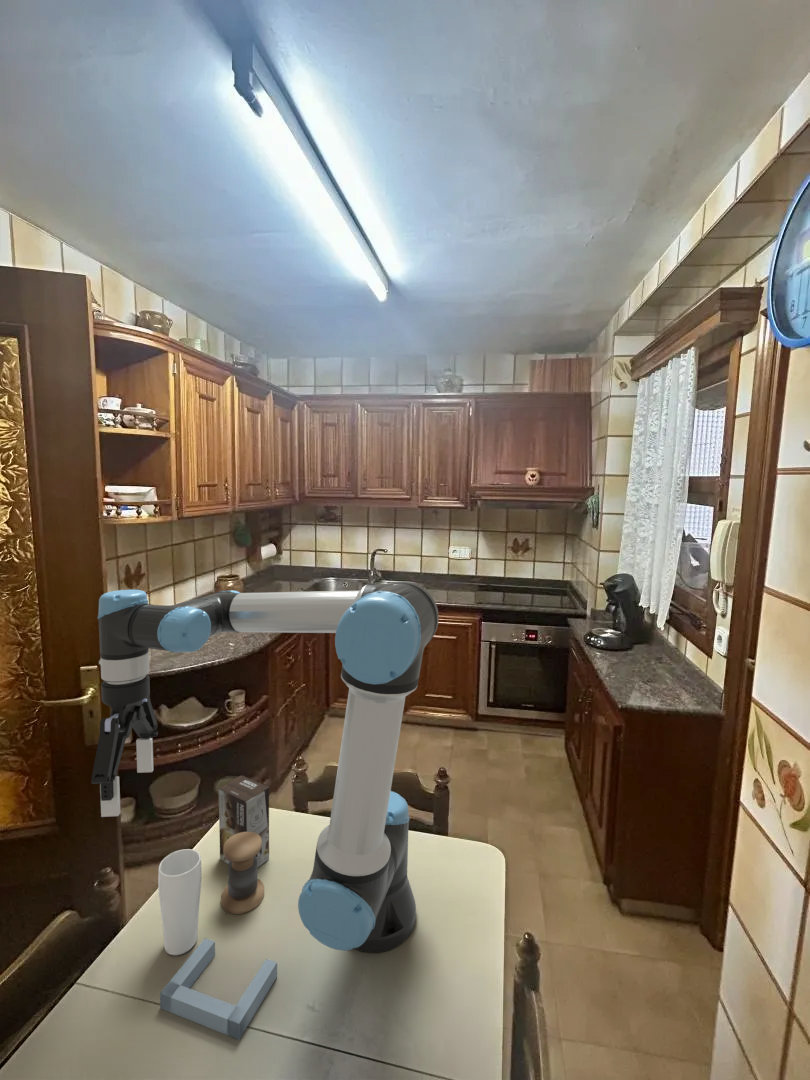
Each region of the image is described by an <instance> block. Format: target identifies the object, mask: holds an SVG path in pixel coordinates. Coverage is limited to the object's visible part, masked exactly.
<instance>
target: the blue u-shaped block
mask: <svg viewBox="0 0 810 1080" xmlns="http://www.w3.org/2000/svg"><path fill="white" fill-rule="evenodd" d="M215 956H216V941H215V940H212V939H209V938H206V937H205V938H204V939H203V940H202V941H201V942H200V944H198V946H197V947H196V948H195V950H194V951H192V953H191V955H190V956H189V957H188V959H186V961H185V962H184V963H183V965H182V966H181V967H180V968H179V970H177V971H176V973H175V974H174V975H173V977H172V978H171V979H170V981H168V983H167V984H166V985H165V987H163V989H162V990H161V991H160V993H159V997H160V998H159V1005H160V1006H159V1009H160V1010H163V1011H166V1012H168V1013H171V1014H173V1015H176V1016H179V1017H180V1018H183V1019H186V1020H188V1021H190V1022H194V1023H195V1024H197V1025H198V1024H199V1025H201V1026H204V1027H206V1028H208V1029H210V1030H213V1031H216V1032H218V1033H221V1034H223V1035H226V1036H228V1037H231V1038H233V1039H236V1040H239V1041H240V1039H241V1038H242V1036H243V1034H244V1032H245V1031H246V1029H247V1028H248V1026H249V1024H250V1023H251V1022H252V1020H253V1018H254V1016H255V1015H256V1013H257V1012H258V1010H259V1008H260V1006H261V1004H262V1003H263V1001H264V1000H265V998H266V997H267V994H268V993H269V991H270V989H271V987H272V986H273V984H274V982H275V981H276V979H277V977H278V962H277V961H274V960H271V959H268V958H266V959H265V960H264V962H263V963H262V965H261V967H260V968H259V970H258V971H257V973H256V974H255V975H254V977H253V978H252V980H251V981H250V983H249V985H248V986H247V988H246V989H245V991H244V992H243V994H242V996H241V998H240V999H239V1000H238V1002H237V1003H236V1005H235V1004H233V1003H229V1002H227V1001H224V1000H221V999H219V998H216V997H213V996H211V995H208V994H205V993H202V992H200V991H197V990H194V989H192V988H191V987H192V986H193V985H194V983H195V982H196V981H197V980H198V979H199V977H200V975H201V974H202V973H203V972H204V970H205V969H206V967H207V966H208V965H209V964H210V962H211V961H212V960H213V958H215Z"/></svg>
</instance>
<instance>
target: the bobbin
mask: <svg viewBox="0 0 810 1080" xmlns="http://www.w3.org/2000/svg"><path fill="white" fill-rule="evenodd" d="M261 847H262V840H261V837H260V836H259V835H258V834H257V833H254V832H241V833H237V834H235V835H233V836H231V837H230V838H229V839H228V840H227V841H226V842H225V844H224V847H223V853H224V856H225V858H226V859H228V860H230V862H229V864H227V885H226V886H225V887H224V888H223V891H222V892H221V895H220V906H221V907H222V909H223V910H224V912H226V913H227V914H232V915H242V914H246V913H249V912H252V911H253V910H254V909H256V908H257V907H258V906H259V905H260V904H261V903H262V902H263V900H264V898H265V884H264V883H263V881H262V880H261V879H259V878H258V868H257V858H256V856H255V855H257V854H258V853H259V851H260V850H261Z"/></svg>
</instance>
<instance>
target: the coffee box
mask: <svg viewBox="0 0 810 1080" xmlns="http://www.w3.org/2000/svg"><path fill="white" fill-rule="evenodd" d="M218 810H219V811H218V817H219V818H218V823H219V826H218V827H219V831H218V832H219V859H220V861H222V862H223V863H225V864H227V865H228V864H229V862H230V860H228V859H226V858H225V856H224V853H223V847H224V844H225V842H226V841H227V840H228V839H229V838H230V837H231V836H233V835H235V834H237V833H241V832H254V833H257V834H258V835H259V836H260V837H261V840H262V847H261V850H260V851H259V853H258V854H257V855H255V856H256V858H257V869H258V868H260V867H261V865H264V864H265V863H266V862H267V861H269V860H270V787H269V786H267V785H266V784H263V783H260V782H258V781H256V780H254V779H251V778H249V777H246V776H244V775H242V774H241V775H239V776H237V777H236V778H234V779H233V780H231V781H229V782H227V783H226V784H224V785H223V786H221V787H219V788H218Z"/></svg>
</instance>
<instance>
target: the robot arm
mask: <svg viewBox="0 0 810 1080" xmlns="http://www.w3.org/2000/svg"><path fill="white" fill-rule="evenodd" d="M438 609H439V608H438V606H437V602H436V601H435V599H434V597H433V596H432V594H431V593H430V592H429V591H428V590H427V589H426V588H424V587H422V586H421V585H419V584H417V583H414V582H410V581H395V582H389V583H376V584H375V583H374V584H365V585H364V586H363V587H362V588H361V589H360V590H328V591H327V590H326V591H325V590H324V591H323V590H322V591H321V590H320V591H319V590H318V591H277V592H275V591H274V592H273V591H272V592H271V591H269V592H240V591H238V590H232V589H231V590H223V591H218V592H216V593H213V594H209V595H206V596H203V597H198V598H194V599H191V600H186V601H183V602H179V603H175V604H170V605H165V604H163V605H162V604H161V605H160V604H151V603H149V600H148V594H147V593H146V591H144V590H141V589H120V590H119V589H118V590H113V591H107V592H105V593H103V594H101V596H100V597H99V599H98V614H97V620H98V632H99V633H98V634H99V635H98V636H99V655H100V656H99V657H100V659H99V660H98V665H100V677H101V680H103V681H102V682H101V685H100V689H101V690H100V692H101V695H100V696H101V702H102V703H103V704H104V705H107V706H108V707H110V714H109V715H110V716H109V717H107V718H106V717H105V718H101V719H100V722H99V736H98V743H97V747H96V752H95V758H94V762H93V763H94V764H93V768H92V774H91V778H90V779H91V780H90V783H91V784H94V785H95V784H96V785H97V784H99V793H100V814H101V815H100V817H101V818H104V817H105V818H107V817H108V818H109V817H119V816H120V815H121V793H120V788H121V787H120V776H119V775H118V776H117V774H118V769H119V766H120V764H121V758H122V754H123V753H124V752H123V751H124V749H125V748H124V747H125V743H126V740H127V739H128V738H129V737H130V736H131V731H132V729H133V731H134V732H135V733H136V735H137V736H138V738H137V739H136V740H135V744H136V746H135V747H136V772H137V774H138V773H139V774H140V773H141V774H142V773H153V771H154V751H153V750H154V744H153V743H154V742H153V738H155V737H158V735H159V730H157V729H158V722H157V717H156V715H155V714H156V713H155V712H154V708H153V705H152V702H151V697H150V695H151V689H150V688H151V687H150V686H151V685H150V675H148V674H149V673H150V669H151V668H150V651H149V649H150V650H159V651H165V652H170V653H177V654H180V653H195V652H197V651H199V650H201V649H202V648H203V646H204V645H205V644H206V643H207V642H208V640H209V638H210V637H212V636H215V635H217V634H221V633H222V634H223V633H286V634H287V633H288V634H289V633H292V634H294V633H301V634H304V633H305V634H306V633H307V634H308V633H309V634H310V633H311V634H312V633H313V634H315V633H316V634H326V633H327V634H330V633H331V634H335V635H334V636H335V637H334V645H335V652H336V655H337V659H338V660H340V662H341V664H342V665H341V672H340V678H341V680H342V682H343V683H344V684H345V686H346V687H348V695H347V701H346V708H345V713H344V714H345V715H344V723H343V727H342V736H341V743H340V750H339V756H338V763H337V771H336V777H335V785H334V791H333V798H332V805H331V812H330V819H329V824H328V825H327V826H326V827H324V828H323V829H322V830H321V831H320V833H319V835H318V838H317V841H316V847H315V855H314V861H313V868H312V872H311V874H310V877H309V878H308V880H307V881H306V882H305V883H304V885H303V886H302V889H301V892H300V894H299V896H298V901H297V902H298V903H297V908H298V914H299V915H298V916H299V917H300V920H301V922H302V924H303V926H304V928H305V929H307V931H308V932H309V934H310V935H311V937H313V938H314V939H315V940H316V941H318V943H321V944H322V945H324V946H326V947H328V948H330V949H333V950H337V951H343V952H344V951H351V950H353V949H355V950H358V951H361V952H363V953H364V952H365V953H382V952H386V951H387V952H388V951H390V950H392V949H395V948H397V947H399V946H400V945H402V944H403V943H404V942H405V941H406V940H407V939H408V938H409V936H411V934H412V932H413V930H414V929H415V928H414V927H415V925H416V919H417V917H416V915H417V913H416V911H417V909H416V907H417V905H416V900H415V896H414V893H413V889H412V887H411V884H410V880H409V877H408V860H409V855H408V854H409V853H408V852H409V826H410V825H409V823H410V815H409V814H410V813H409V804H408V802H407V801H406V799H405V798H404V797H402V796H401V795H400V794H399V793H397V792H395V791H392V784H393V778H394V771H395V765H396V759H397V758H396V757H397V752H398V746H399V741H400V734H401V727H402V721H403V715H404V708H405V704H406V703H405V702H406V697H407V696H409V695H410V694H411V693H413V692H415V691H416V690H417V688H418V685H419V678H420V674H421V668H422V661H423V656H424V655H423V654H424V650H425V648H426V646H427V645H428V644H429V643H430V642H431V641H432V639H433V638H434V636H435V634H436V632H437V630H438V625H439V618H440V616H439V610H438Z"/></svg>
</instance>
